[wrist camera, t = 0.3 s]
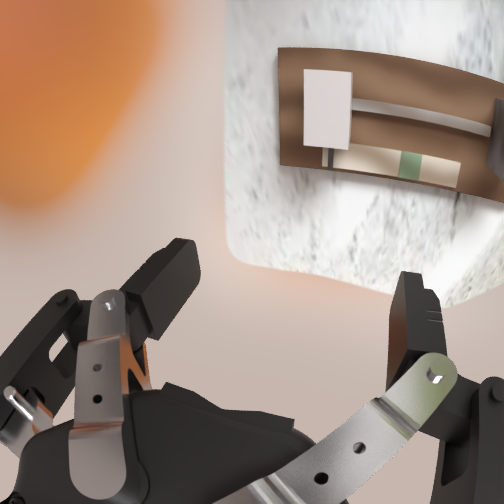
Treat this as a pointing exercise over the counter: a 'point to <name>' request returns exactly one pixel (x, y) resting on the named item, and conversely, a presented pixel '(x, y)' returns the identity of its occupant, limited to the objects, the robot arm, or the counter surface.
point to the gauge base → (402, 121)
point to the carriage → (327, 110)
